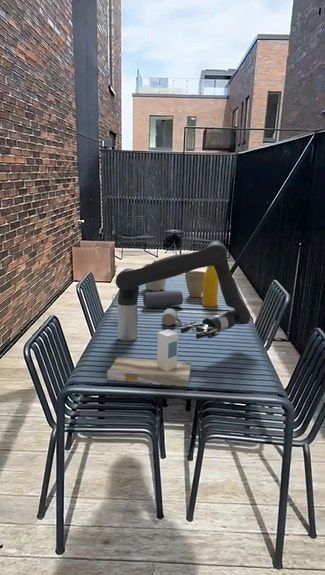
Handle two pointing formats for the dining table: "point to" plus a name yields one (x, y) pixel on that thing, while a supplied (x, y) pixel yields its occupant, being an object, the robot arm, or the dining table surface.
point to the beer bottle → (210, 287)
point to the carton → (167, 349)
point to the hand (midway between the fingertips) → (188, 333)
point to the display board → (148, 372)
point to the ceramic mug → (170, 317)
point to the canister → (156, 284)
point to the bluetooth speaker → (162, 299)
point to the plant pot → (195, 283)
